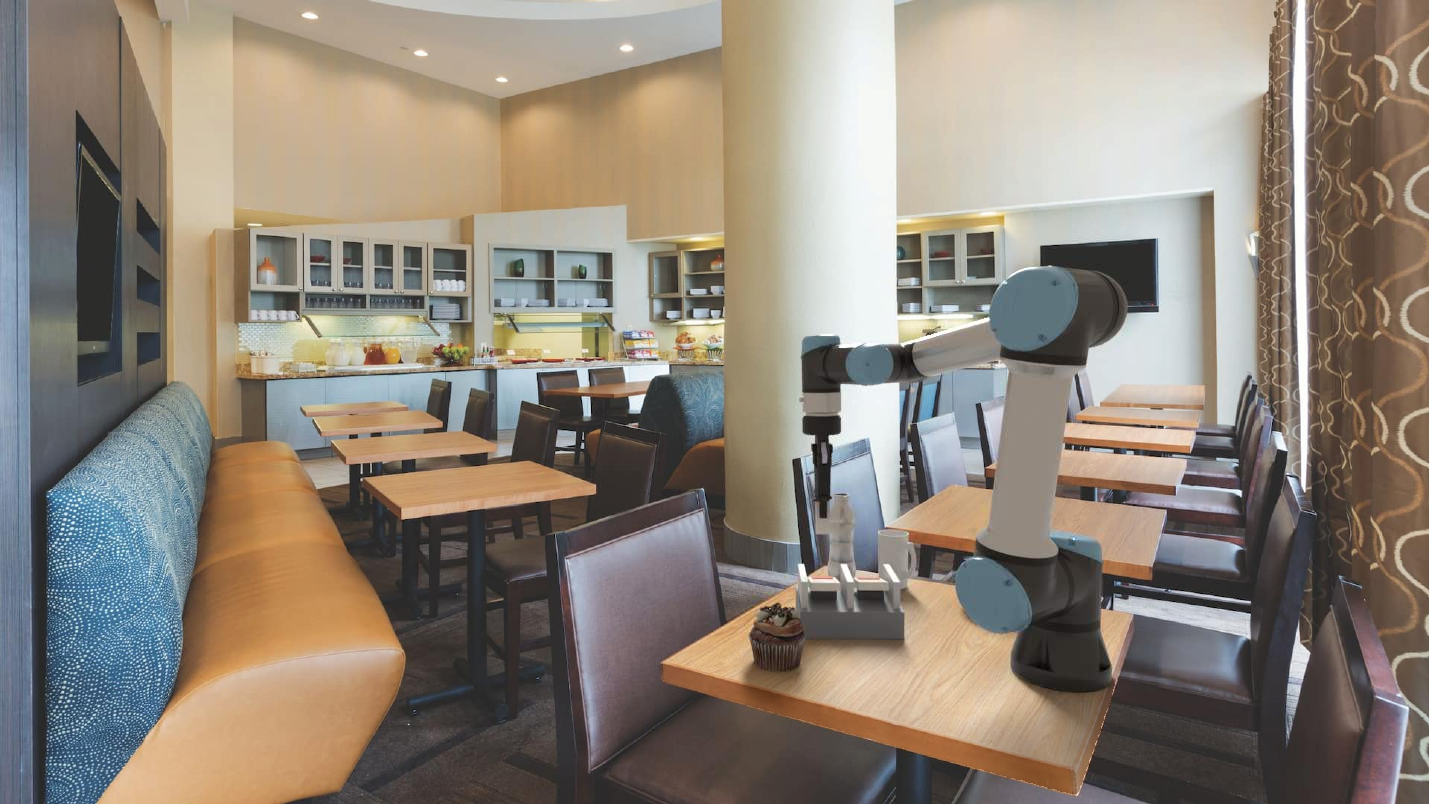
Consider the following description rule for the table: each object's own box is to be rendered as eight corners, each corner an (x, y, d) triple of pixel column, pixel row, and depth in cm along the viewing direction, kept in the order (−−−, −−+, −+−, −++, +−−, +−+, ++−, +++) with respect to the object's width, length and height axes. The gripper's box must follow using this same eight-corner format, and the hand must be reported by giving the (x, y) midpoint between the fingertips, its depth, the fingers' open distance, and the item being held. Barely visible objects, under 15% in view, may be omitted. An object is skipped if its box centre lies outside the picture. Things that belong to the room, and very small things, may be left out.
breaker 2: (889, 590, 144) (888, 581, 144) (859, 590, 145) (859, 581, 145) (880, 585, 154) (880, 577, 154) (852, 585, 154) (852, 577, 155)
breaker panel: (904, 639, 142) (904, 585, 141) (800, 638, 143) (799, 585, 142) (889, 609, 157) (889, 561, 157) (795, 609, 159) (795, 561, 158)
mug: (871, 584, 175) (871, 532, 174) (892, 579, 178) (892, 528, 177) (904, 596, 166) (904, 541, 165) (926, 590, 170) (926, 536, 169)
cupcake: (815, 658, 133) (814, 601, 133) (789, 678, 125) (788, 618, 125) (766, 647, 139) (765, 592, 138) (738, 666, 130) (737, 608, 130)
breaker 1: (840, 591, 145) (840, 581, 145) (811, 591, 145) (810, 581, 145) (835, 584, 155) (835, 576, 155) (807, 584, 155) (807, 576, 155)
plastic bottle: (835, 586, 174) (834, 498, 172) (822, 577, 180) (822, 492, 179) (861, 583, 175) (861, 496, 174) (847, 575, 182) (847, 491, 181)
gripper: (800, 412, 158) (801, 526, 159) (804, 417, 145) (805, 541, 146) (837, 411, 157) (838, 526, 159) (844, 416, 144) (845, 541, 146)
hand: (822, 533), depth 152 cm, fingers closed
